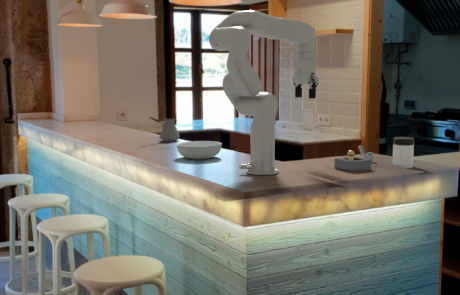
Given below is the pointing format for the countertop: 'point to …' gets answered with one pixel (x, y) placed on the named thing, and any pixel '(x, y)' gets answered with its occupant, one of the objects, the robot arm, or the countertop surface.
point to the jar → (403, 151)
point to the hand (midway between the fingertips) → (305, 97)
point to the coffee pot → (168, 130)
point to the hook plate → (347, 171)
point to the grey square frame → (352, 164)
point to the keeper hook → (351, 155)
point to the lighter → (368, 155)
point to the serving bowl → (199, 149)
